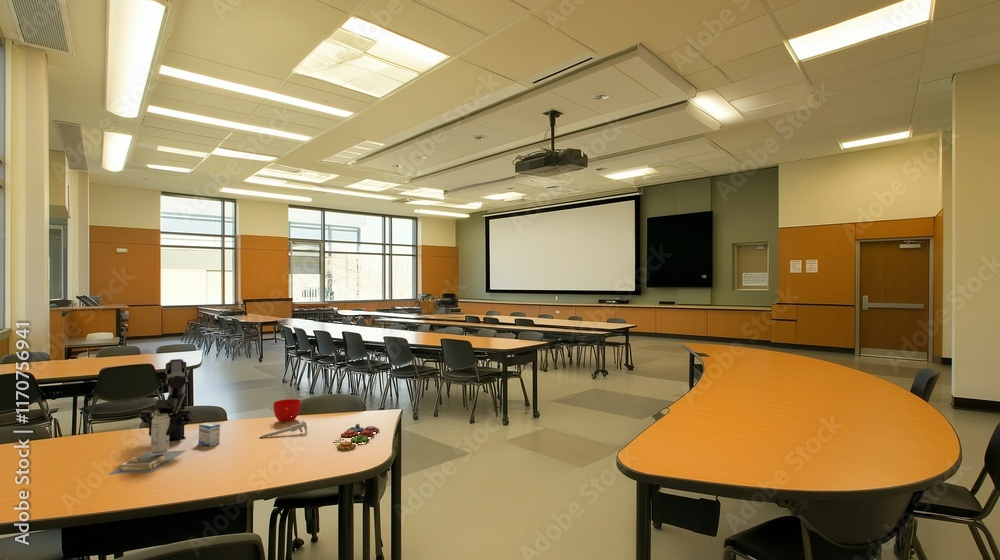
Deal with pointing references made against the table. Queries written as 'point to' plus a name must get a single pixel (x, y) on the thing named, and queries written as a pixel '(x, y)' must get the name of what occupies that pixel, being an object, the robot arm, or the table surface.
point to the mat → (150, 461)
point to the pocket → (141, 464)
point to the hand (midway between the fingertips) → (158, 435)
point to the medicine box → (209, 434)
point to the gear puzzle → (353, 433)
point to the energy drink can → (160, 433)
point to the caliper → (288, 429)
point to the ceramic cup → (287, 409)
